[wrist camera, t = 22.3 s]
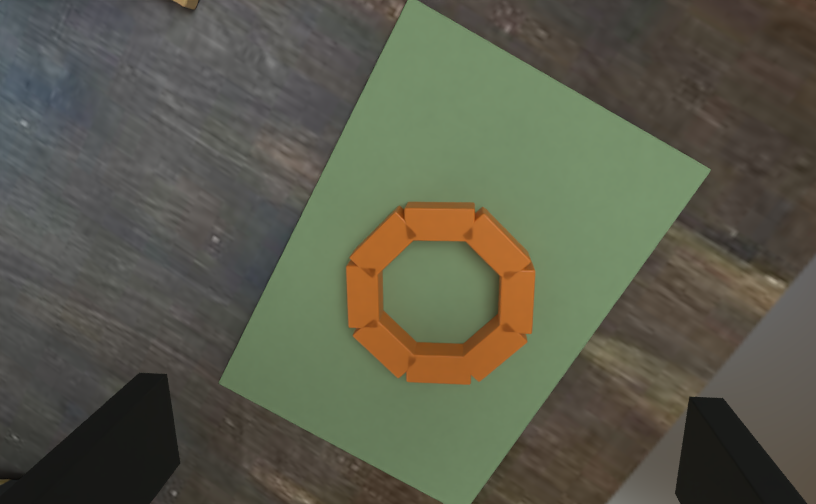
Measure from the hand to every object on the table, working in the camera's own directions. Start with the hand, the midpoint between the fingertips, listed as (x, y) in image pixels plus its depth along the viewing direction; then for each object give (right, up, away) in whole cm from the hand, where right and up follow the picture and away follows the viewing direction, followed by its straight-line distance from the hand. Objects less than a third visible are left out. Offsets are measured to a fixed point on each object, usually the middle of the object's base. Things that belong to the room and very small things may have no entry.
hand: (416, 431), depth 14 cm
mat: (+1, +3, +12) cm, 12 cm away
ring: (+1, +3, +11) cm, 11 cm away
